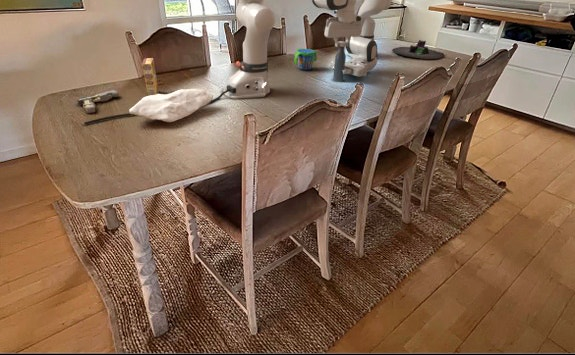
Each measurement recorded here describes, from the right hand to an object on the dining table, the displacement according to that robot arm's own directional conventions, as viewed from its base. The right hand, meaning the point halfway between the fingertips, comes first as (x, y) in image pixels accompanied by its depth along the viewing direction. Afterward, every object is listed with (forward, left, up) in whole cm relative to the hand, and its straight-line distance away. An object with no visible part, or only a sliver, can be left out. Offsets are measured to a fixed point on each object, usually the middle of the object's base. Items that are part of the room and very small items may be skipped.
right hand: (338, 70), depth 192 cm
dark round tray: (-86, +33, -5) cm, 92 cm away
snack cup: (-11, -23, -5) cm, 26 cm away
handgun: (+82, -81, -5) cm, 115 cm away
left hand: (-1, 0, +12) cm, 12 cm away
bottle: (-1, 0, -5) cm, 5 cm away
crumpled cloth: (+77, -48, -5) cm, 91 cm away
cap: (-1, 0, +14) cm, 14 cm away
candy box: (+63, -69, -5) cm, 94 cm away
